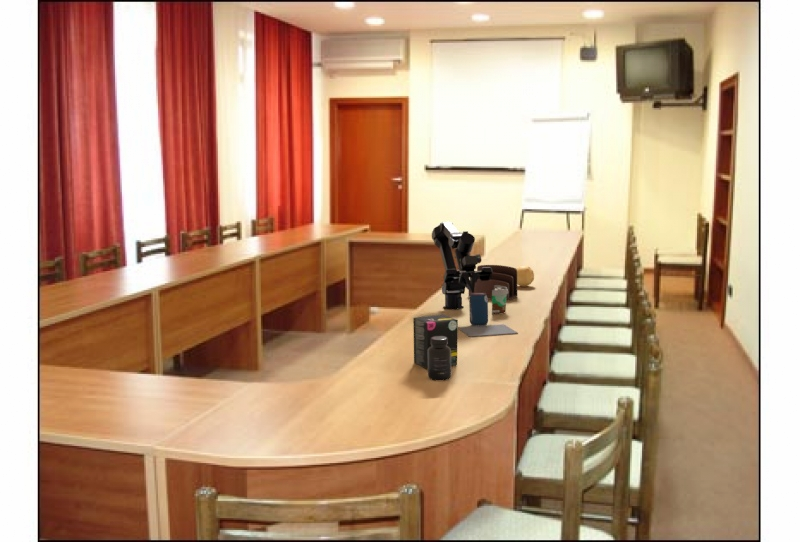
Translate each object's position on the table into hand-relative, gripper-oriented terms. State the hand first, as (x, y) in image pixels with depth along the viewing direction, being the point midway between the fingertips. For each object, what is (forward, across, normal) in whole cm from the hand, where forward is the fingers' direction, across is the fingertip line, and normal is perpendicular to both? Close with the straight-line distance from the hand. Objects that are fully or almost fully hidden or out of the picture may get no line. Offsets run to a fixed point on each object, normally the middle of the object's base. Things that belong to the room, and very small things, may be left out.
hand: (472, 292), depth 294 cm
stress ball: (-39, +47, +54) cm, 82 cm away
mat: (+20, 0, -4) cm, 20 cm away
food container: (-1, +16, +18) cm, 24 cm away
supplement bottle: (+57, -33, -39) cm, 76 cm away
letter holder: (-24, +24, +40) cm, 53 cm away
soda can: (+13, 0, +3) cm, 14 cm away
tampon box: (+47, -30, -30) cm, 63 cm away
